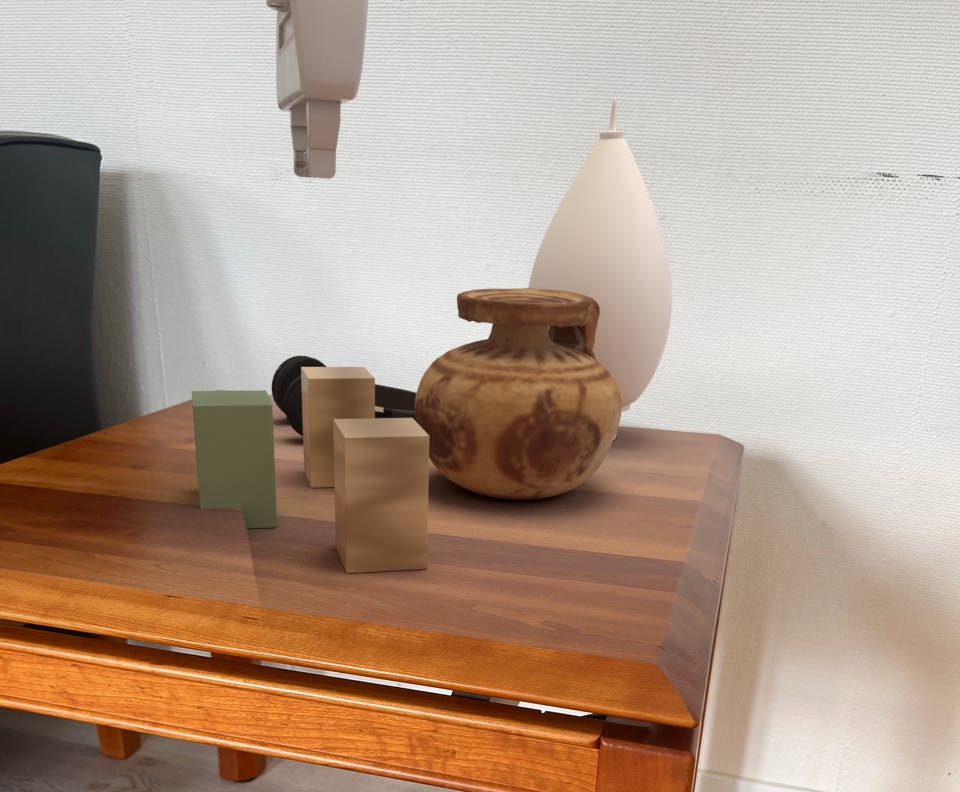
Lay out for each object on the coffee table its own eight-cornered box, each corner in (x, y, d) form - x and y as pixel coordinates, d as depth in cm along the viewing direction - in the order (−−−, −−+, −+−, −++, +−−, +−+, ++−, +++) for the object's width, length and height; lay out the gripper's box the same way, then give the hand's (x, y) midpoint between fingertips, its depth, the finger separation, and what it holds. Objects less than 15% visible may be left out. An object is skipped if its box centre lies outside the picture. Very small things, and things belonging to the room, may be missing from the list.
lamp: (677, 451, 114) (721, 97, 99) (541, 454, 110) (565, 86, 96) (627, 421, 128) (658, 106, 113) (504, 422, 124) (521, 97, 110)
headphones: (271, 346, 119) (434, 372, 126) (264, 410, 122) (424, 431, 129) (293, 371, 104) (475, 398, 112) (284, 443, 107) (463, 464, 114)
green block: (201, 530, 82) (192, 405, 78) (200, 509, 87) (191, 390, 83) (277, 527, 83) (272, 404, 79) (271, 506, 89) (266, 390, 85)
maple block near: (346, 573, 74) (344, 437, 70) (335, 547, 80) (333, 418, 76) (427, 569, 76) (429, 435, 72) (410, 543, 81) (412, 417, 77)
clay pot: (538, 501, 82) (480, 251, 80) (401, 532, 97) (347, 321, 94) (678, 464, 95) (631, 246, 92) (538, 497, 109) (494, 309, 106)
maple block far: (311, 487, 94) (307, 378, 90) (304, 471, 100) (300, 366, 96) (375, 485, 96) (375, 377, 92) (365, 469, 101) (364, 366, 97)
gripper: (255, -27, 77) (259, 174, 82) (277, -88, 59) (281, 175, 65) (339, -17, 79) (337, 179, 84) (385, -73, 61) (379, 182, 66)
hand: (313, 177), depth 74 cm, fingers open, 8 cm apart
